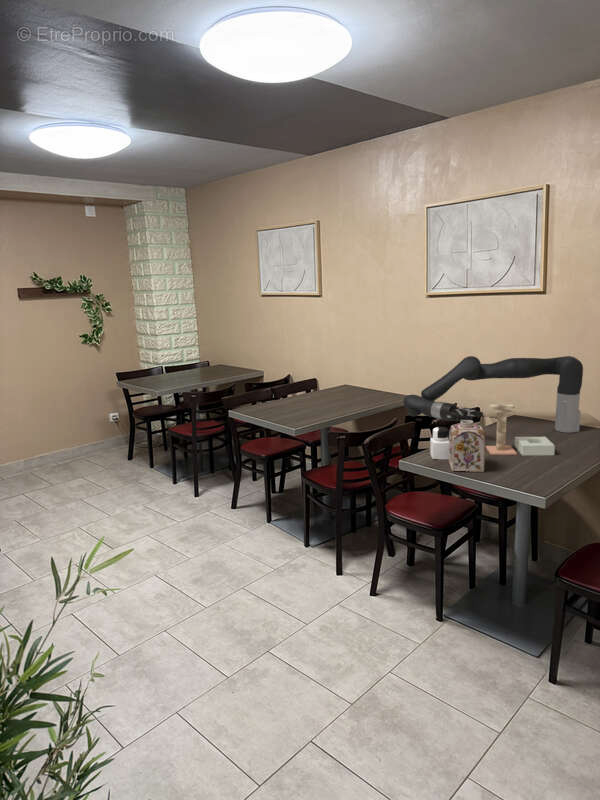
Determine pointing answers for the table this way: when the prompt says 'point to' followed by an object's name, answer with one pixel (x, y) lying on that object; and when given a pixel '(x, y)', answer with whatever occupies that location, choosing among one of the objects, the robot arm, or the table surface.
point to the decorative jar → (466, 447)
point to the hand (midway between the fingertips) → (477, 416)
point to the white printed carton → (439, 443)
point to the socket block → (534, 446)
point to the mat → (507, 451)
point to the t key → (501, 423)
